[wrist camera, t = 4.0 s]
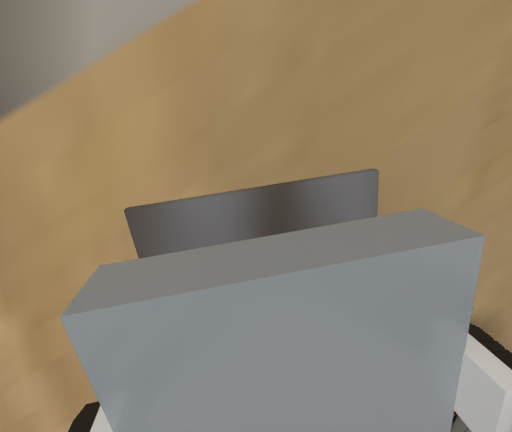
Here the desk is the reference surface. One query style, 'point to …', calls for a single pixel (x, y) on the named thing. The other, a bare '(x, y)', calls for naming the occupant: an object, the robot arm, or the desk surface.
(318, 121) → the desk surface
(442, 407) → the cover plate
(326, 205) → the stand
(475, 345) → the robot arm
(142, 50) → the desk surface
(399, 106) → the desk surface
